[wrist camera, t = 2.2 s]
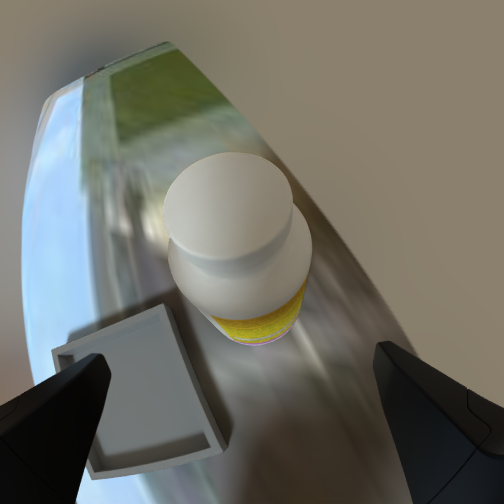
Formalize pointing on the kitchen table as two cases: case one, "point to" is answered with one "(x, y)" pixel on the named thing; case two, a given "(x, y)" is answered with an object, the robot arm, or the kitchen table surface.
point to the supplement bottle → (238, 245)
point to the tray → (146, 398)
